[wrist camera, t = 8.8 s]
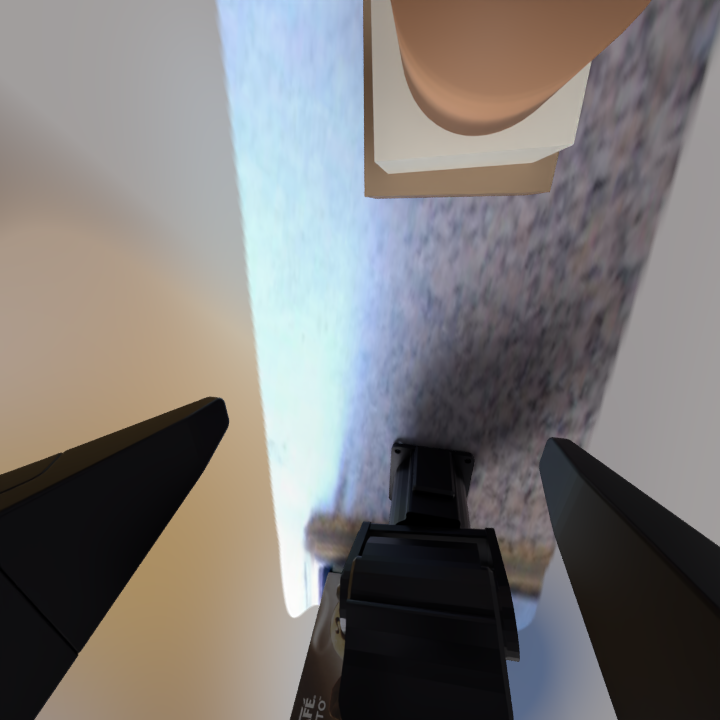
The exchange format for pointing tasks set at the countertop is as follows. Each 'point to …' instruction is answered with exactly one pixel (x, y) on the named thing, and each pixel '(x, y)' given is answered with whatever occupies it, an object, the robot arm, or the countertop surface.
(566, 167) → the countertop surface
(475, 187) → the tower base
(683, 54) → the countertop surface
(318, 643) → the coffee box
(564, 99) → the tower top block
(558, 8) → the brown short cylinder
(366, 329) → the countertop surface
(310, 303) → the countertop surface
